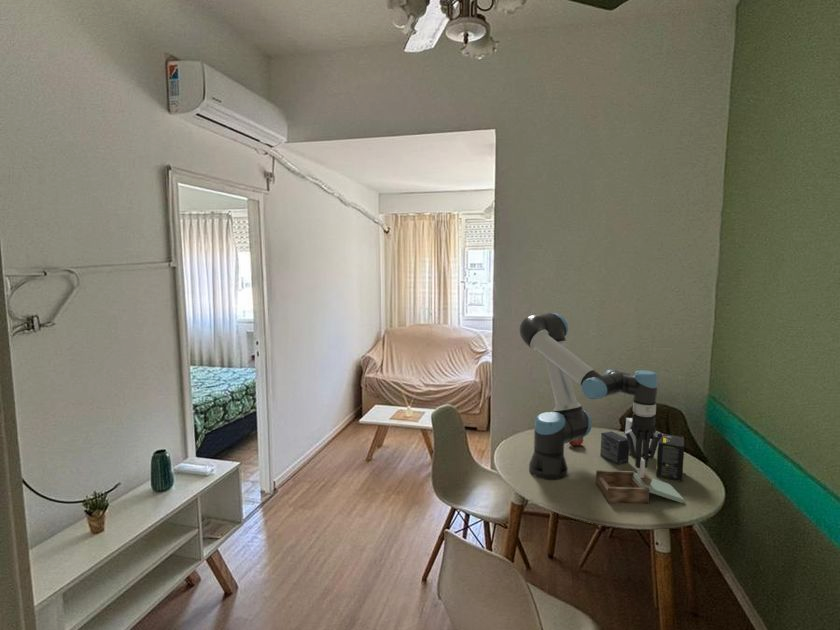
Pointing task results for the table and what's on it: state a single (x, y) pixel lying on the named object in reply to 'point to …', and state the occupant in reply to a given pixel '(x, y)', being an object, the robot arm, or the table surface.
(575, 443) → the pomegranate
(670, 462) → the tampon box
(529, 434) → the table surface
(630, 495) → the box
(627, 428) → the skincare box
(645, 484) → the cover plate
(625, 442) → the small box
